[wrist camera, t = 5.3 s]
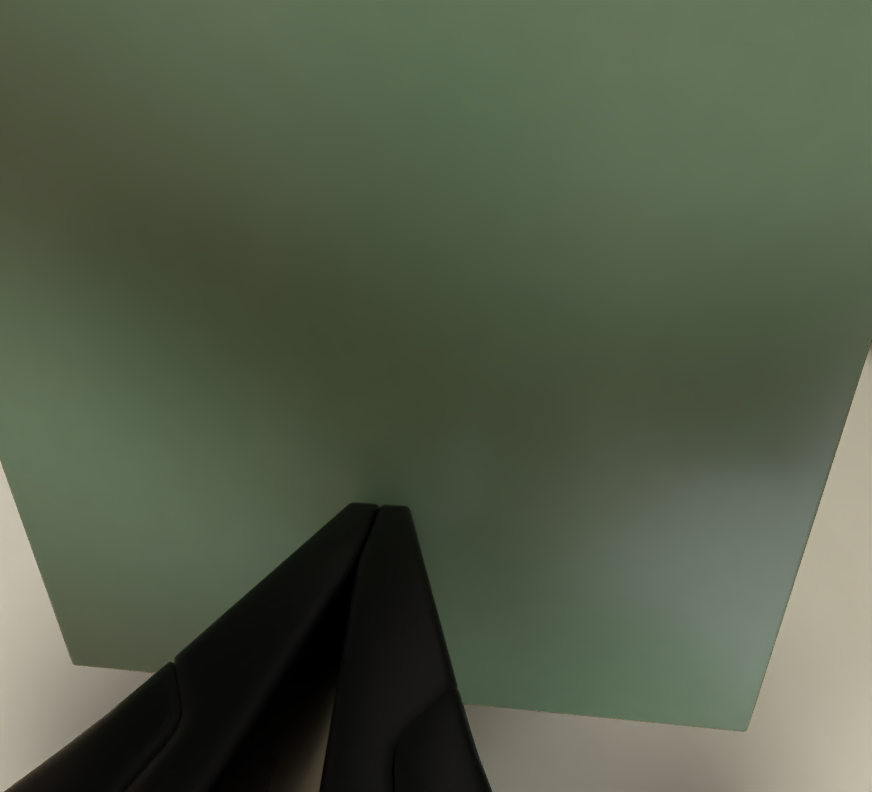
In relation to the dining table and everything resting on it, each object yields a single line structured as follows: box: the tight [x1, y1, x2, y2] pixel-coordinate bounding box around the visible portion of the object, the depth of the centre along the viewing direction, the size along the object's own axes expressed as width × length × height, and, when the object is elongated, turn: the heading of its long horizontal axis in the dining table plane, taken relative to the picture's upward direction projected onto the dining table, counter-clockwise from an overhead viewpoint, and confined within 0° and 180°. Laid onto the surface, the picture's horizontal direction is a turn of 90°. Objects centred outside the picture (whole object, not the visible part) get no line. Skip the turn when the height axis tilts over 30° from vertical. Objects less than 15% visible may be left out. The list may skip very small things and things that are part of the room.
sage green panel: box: [0, 0, 872, 732], centre depth 8 cm, size 14×11×1 cm
